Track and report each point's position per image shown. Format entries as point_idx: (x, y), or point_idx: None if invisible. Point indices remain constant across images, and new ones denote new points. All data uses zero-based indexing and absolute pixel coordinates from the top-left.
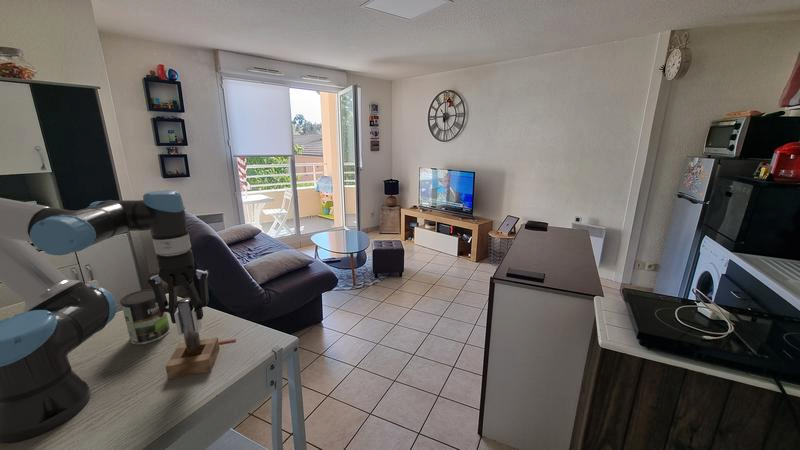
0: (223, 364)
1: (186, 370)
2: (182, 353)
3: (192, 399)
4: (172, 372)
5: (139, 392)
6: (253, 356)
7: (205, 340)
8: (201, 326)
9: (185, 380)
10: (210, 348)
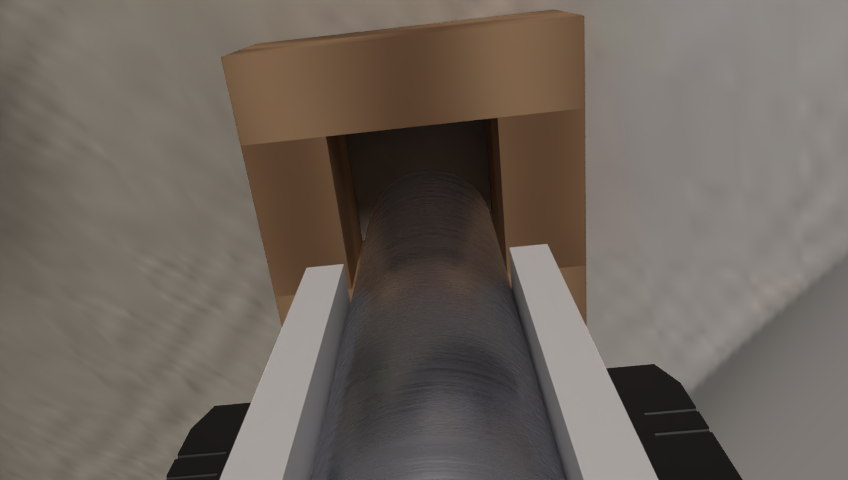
0: (629, 221)
1: None
2: (340, 229)
3: None
4: None
5: (201, 380)
6: (840, 168)
7: (471, 52)
8: (547, 252)
9: None
10: (562, 198)
